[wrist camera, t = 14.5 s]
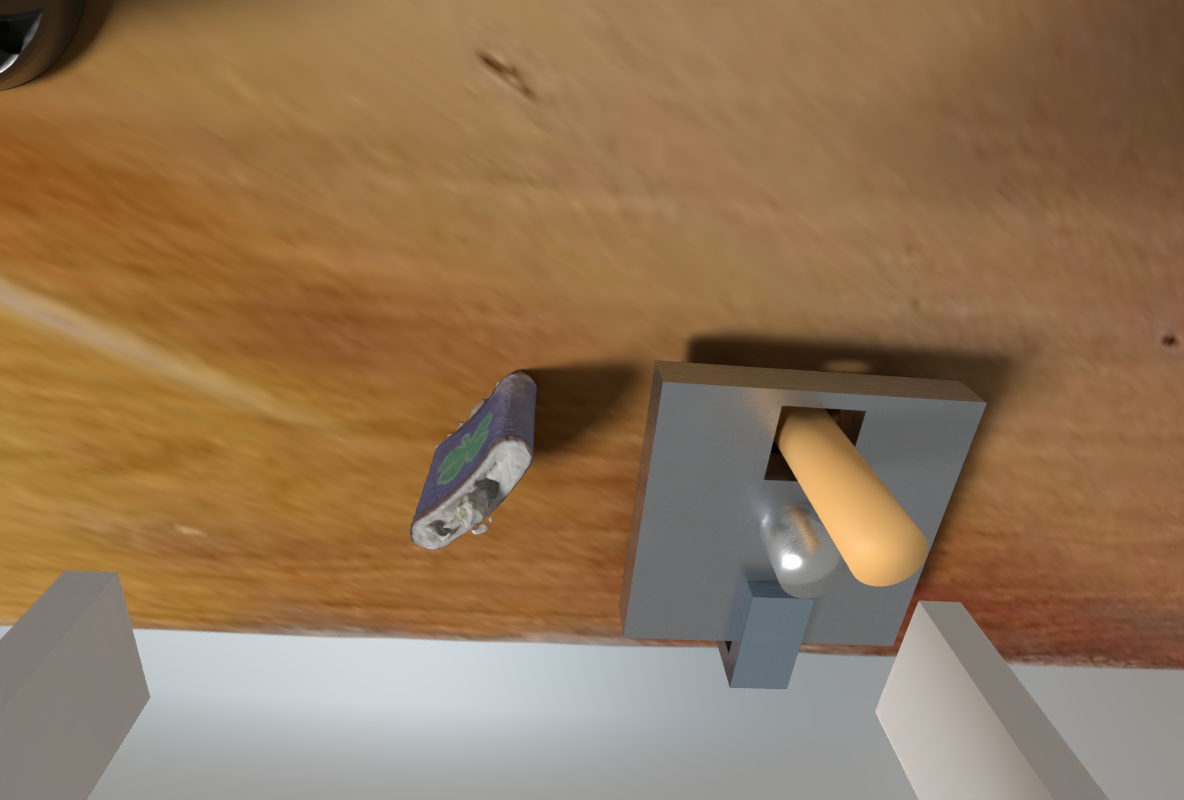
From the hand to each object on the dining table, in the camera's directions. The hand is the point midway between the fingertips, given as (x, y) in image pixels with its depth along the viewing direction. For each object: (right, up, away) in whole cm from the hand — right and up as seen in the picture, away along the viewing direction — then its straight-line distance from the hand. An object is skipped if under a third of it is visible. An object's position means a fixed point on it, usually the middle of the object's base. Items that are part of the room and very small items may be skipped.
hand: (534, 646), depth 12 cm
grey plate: (+13, -2, +37) cm, 40 cm away
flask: (-6, +3, +34) cm, 35 cm away
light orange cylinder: (+14, +4, +34) cm, 37 cm away
